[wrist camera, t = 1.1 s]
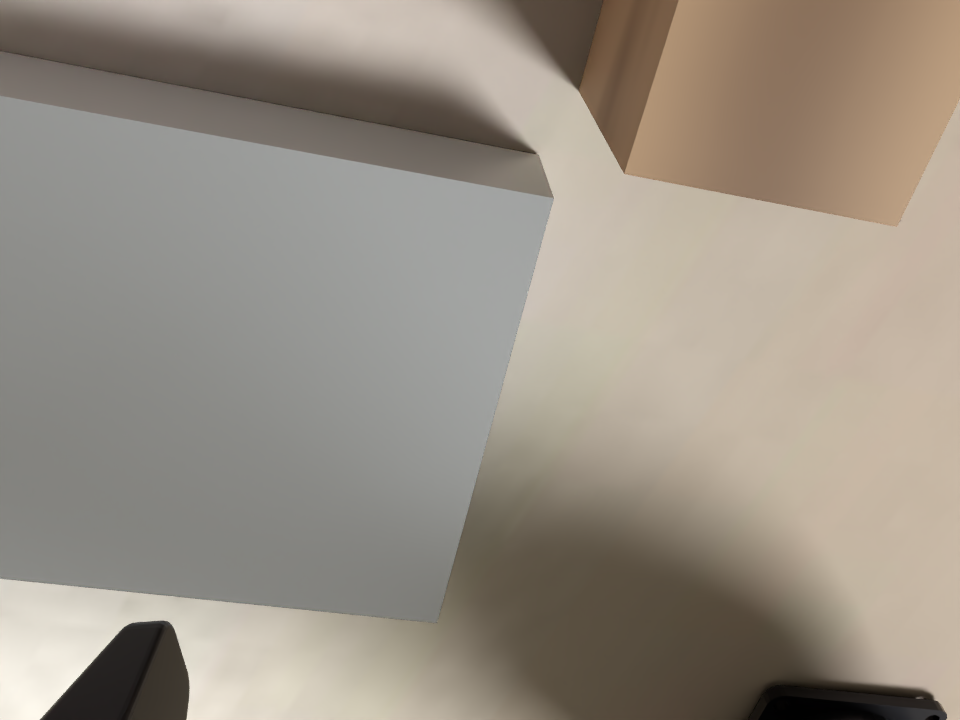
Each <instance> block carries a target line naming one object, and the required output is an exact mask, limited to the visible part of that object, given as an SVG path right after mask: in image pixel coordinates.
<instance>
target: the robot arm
mask: <svg viewBox="0 0 960 720" xmlns="http://www.w3.org/2000/svg"><path fill="white" fill-rule="evenodd" d="M188 702H189V677H188V672H187V669H186V665H185V662H184V659H183V656H182V652H181V649H180V646H179V643H178V640H177V636H176V633H175V630H174V628H173V626H172V625H171V624H170V623H169V622H167V621H151V622H137V623H131V624H129V625H127V626H126V627H124V628H123V629H122V630H121V631H120V632H119V633H118V634H117V635H116V636H115V637H114V639H113V640H112V641H111V642H110V643H109V644H108V645H107V646H106V647H105V649H104V650H103V651H102V652H101V653H100V654H99V655H98V656H97V657H96V658H95V660H94V661H93V662H92V663H91V664H90V665H89V666H88V667H87V668H86V670H85V671H84V672H83V673H82V674H81V675H80V676H79V677H78V678H77V679H76V681H75V682H74V683H73V684H72V685H71V686H70V687H69V688H68V689H67V690H66V692H65V693H64V694H63V695H62V696H61V697H60V698H59V699H58V700H57V702H56V703H55V704H54V705H53V706H52V707H51V708H50V709H49V710H48V711H47V713H46V714H45V715H44V716H43V717H42V718H41V719H40V720H186V718H187V710H188ZM946 719H947V714H946V712H945V711H944V709H943V707H942V706H941V704H940V703H939V702H938V701H934V700H926V699H916V698H906V697H895V696H885V695H875V694H864V693H854V692H844V691H833V690H823V689H813V688H802V687H792V686H775V687H771V688H769V689H768V690H766V691H765V692H764V694H763V695H762V697H761V698H760V700H759V702H758V704H757V705H756V707H755V709H754V711H753V712H752V714H751V716H750V718H749V719H748V720H946Z"/></svg>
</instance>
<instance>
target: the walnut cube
mask: <svg viewBox="0 0 960 720" xmlns="http://www.w3.org/2000/svg"><path fill="white" fill-rule="evenodd" d="M579 92H580V94H581V96H582V98H583V100H584V101H585V103H586V105H587V107H588V109H589V110H590V112H591V114H592V116H593V118H594V120H595V121H596V123H597V125H598V127H599V129H600V131H601V132H602V134H603V136H604V138H605V140H606V141H607V143H608V145H609V147H610V149H611V151H612V152H613V154H614V156H615V158H616V160H617V162H618V163H619V165H620V167H621V169H622V171H623V172H624V174H628V175H633V176H638V177H643V178H648V179H653V180H659V181H664V182H669V183H674V184H679V185H684V186H690V187H695V188H700V189H705V190H710V191H715V192H720V193H726V194H731V195H736V196H741V197H746V198H751V199H756V200H762V201H767V202H772V203H777V204H782V205H787V206H793V207H798V208H803V209H808V210H813V211H818V212H823V213H829V214H834V215H839V216H844V217H849V218H854V219H859V220H865V221H870V222H875V223H880V224H885V225H890V226H896V227H897V225H898V223H899V221H900V219H901V217H902V215H903V213H904V211H905V209H906V207H907V205H908V203H909V201H910V199H911V197H912V195H913V193H914V191H915V189H916V187H917V185H918V183H919V181H920V179H921V177H922V175H923V173H924V171H925V169H926V166H927V164H928V162H929V160H930V158H931V156H932V154H933V152H934V150H935V148H936V146H937V144H938V142H939V140H940V138H941V136H942V134H943V132H944V130H945V128H946V126H947V124H948V122H949V120H950V118H951V116H952V114H953V112H954V110H955V108H956V106H957V103H958V101H959V99H960V0H603V4H602V7H601V11H600V15H599V18H598V22H597V26H596V29H595V33H594V37H593V40H592V44H591V48H590V51H589V55H588V59H587V62H586V66H585V70H584V73H583V77H582V80H581V84H580V88H579Z"/></svg>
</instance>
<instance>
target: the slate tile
mask: <svg viewBox="0 0 960 720" xmlns="http://www.w3.org/2000/svg"><path fill="white" fill-rule="evenodd" d="M553 199H554V197H553V195H552V192H551V189H550V186H549V183H548V180H547V177H546V175H545V172H544V169H543V166H542V163H541V160H540V157H539V155H537V154H531V153H526V152H521V151H516V150H511V149H505V148H500V147H495V146H490V145H485V144H480V143H474V142H469V141H464V140H459V139H454V138H448V137H443V136H438V135H433V134H428V133H423V132H417V131H412V130H407V129H402V128H397V127H391V126H386V125H381V124H376V123H371V122H366V121H360V120H355V119H350V118H345V117H340V116H334V115H329V114H324V113H319V112H314V111H308V110H303V109H298V108H293V107H288V106H283V105H277V104H272V103H267V102H262V101H257V100H251V99H246V98H241V97H236V96H231V95H226V94H220V93H215V92H210V91H205V90H200V89H194V88H189V87H184V86H179V85H174V84H169V83H163V82H158V81H153V80H148V79H143V78H137V77H132V76H127V75H122V74H117V73H112V72H106V71H101V70H96V69H91V68H86V67H80V66H75V65H70V64H65V63H60V62H54V61H49V60H44V59H39V58H34V57H29V56H23V55H18V54H13V53H8V52H3V51H0V579H10V580H19V581H29V582H39V583H49V584H58V585H68V586H78V587H88V588H97V589H107V590H117V591H127V592H137V593H146V594H156V595H166V596H176V597H185V598H195V599H205V600H215V601H224V602H234V603H244V604H254V605H264V606H273V607H283V608H293V609H303V610H312V611H322V612H332V613H342V614H351V615H361V616H371V617H381V618H391V619H400V620H410V621H420V622H430V623H437V621H438V618H439V614H440V610H441V607H442V603H443V600H444V596H445V592H446V589H447V585H448V581H449V578H450V574H451V570H452V567H453V563H454V559H455V556H456V552H457V549H458V545H459V541H460V538H461V534H462V530H463V527H464V523H465V519H466V516H467V512H468V509H469V505H470V501H471V498H472V494H473V490H474V487H475V483H476V479H477V476H478V472H479V469H480V465H481V461H482V458H483V454H484V450H485V447H486V443H487V439H488V436H489V432H490V429H491V425H492V421H493V418H494V414H495V410H496V407H497V403H498V399H499V396H500V392H501V389H502V385H503V381H504V378H505V374H506V370H507V367H508V363H509V359H510V356H511V352H512V349H513V345H514V341H515V338H516V334H517V330H518V327H519V323H520V319H521V316H522V312H523V309H524V305H525V301H526V298H527V294H528V290H529V287H530V283H531V279H532V276H533V272H534V269H535V265H536V261H537V258H538V254H539V250H540V247H541V243H542V239H543V236H544V232H545V229H546V225H547V221H548V218H549V214H550V210H551V207H552V203H553Z"/></svg>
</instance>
